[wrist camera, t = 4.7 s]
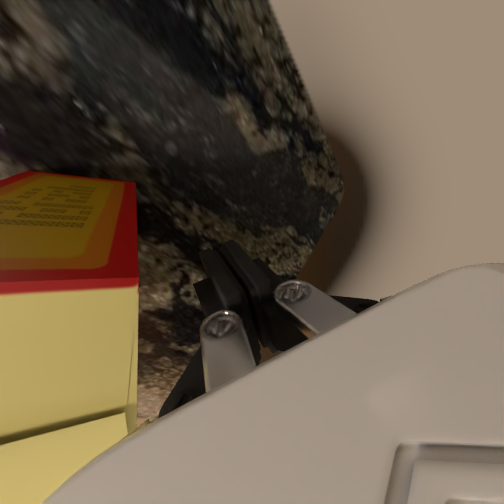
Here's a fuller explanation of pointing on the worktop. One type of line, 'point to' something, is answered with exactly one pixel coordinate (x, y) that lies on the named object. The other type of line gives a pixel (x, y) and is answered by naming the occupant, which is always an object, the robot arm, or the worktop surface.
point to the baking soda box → (65, 326)
